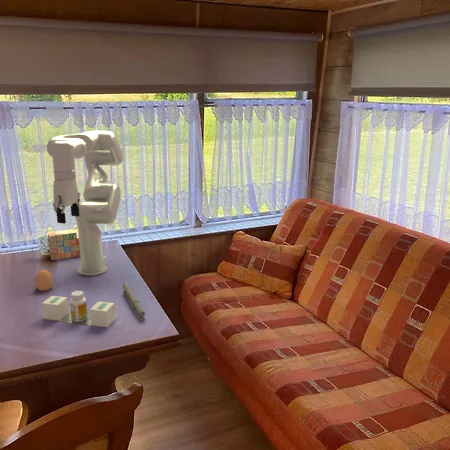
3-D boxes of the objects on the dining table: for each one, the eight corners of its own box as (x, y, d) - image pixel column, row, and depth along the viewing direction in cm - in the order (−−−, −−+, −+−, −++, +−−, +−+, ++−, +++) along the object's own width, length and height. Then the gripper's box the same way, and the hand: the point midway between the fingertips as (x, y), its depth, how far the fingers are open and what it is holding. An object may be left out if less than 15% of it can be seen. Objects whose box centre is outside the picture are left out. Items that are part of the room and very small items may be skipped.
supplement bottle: (89, 314, 164) (87, 289, 161) (85, 322, 159) (83, 296, 156) (73, 314, 164) (71, 289, 161) (69, 322, 159) (67, 296, 156)
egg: (32, 292, 183) (29, 271, 180) (45, 286, 189) (42, 265, 186) (44, 296, 180) (42, 274, 178) (57, 289, 186) (55, 268, 184)
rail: (54, 313, 167) (54, 310, 167) (116, 321, 162) (115, 318, 162) (43, 322, 161) (43, 319, 160) (106, 331, 156) (106, 328, 156)
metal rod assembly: (122, 295, 183) (121, 283, 182) (129, 293, 184) (128, 282, 183) (139, 324, 161) (138, 312, 159) (146, 323, 162) (146, 310, 160)
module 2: (99, 316, 163) (98, 300, 161) (115, 318, 162) (114, 302, 160) (91, 325, 157) (89, 308, 155) (107, 327, 156) (106, 310, 154)
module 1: (53, 310, 167) (52, 295, 165) (68, 312, 165) (67, 297, 163) (43, 318, 161) (42, 302, 159) (59, 320, 160) (57, 304, 158)
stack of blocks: (94, 250, 231) (93, 226, 227) (97, 254, 226) (95, 230, 222) (49, 256, 222) (47, 231, 218) (51, 260, 216) (48, 235, 213)
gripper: (68, 170, 179) (71, 212, 184) (42, 178, 163) (46, 225, 168) (86, 171, 178) (89, 214, 183) (61, 180, 161) (65, 226, 166)
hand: (68, 219), depth 175 cm, fingers open, 9 cm apart
